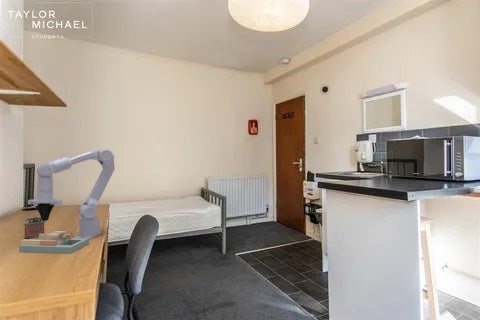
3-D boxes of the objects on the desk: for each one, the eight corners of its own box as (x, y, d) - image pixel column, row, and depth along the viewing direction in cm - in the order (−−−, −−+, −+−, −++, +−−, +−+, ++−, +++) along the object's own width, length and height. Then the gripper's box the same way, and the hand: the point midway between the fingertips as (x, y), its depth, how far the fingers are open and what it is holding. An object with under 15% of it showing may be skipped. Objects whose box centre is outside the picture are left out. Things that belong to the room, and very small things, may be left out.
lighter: (43, 235, 133) (43, 215, 133) (45, 236, 131) (45, 216, 131) (23, 238, 127) (23, 217, 127) (25, 240, 125) (25, 218, 125)
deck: (42, 242, 121) (42, 232, 121) (89, 243, 120) (89, 234, 120) (19, 251, 109) (19, 241, 109) (70, 253, 108) (70, 242, 108)
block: (55, 240, 117) (55, 231, 117) (66, 240, 117) (66, 231, 117) (46, 243, 112) (46, 234, 112) (57, 244, 112) (57, 234, 112)
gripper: (22, 191, 116) (22, 222, 116) (53, 191, 115) (53, 222, 116) (35, 189, 123) (35, 218, 123) (65, 189, 122) (65, 219, 123)
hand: (45, 220), depth 120 cm, fingers closed
